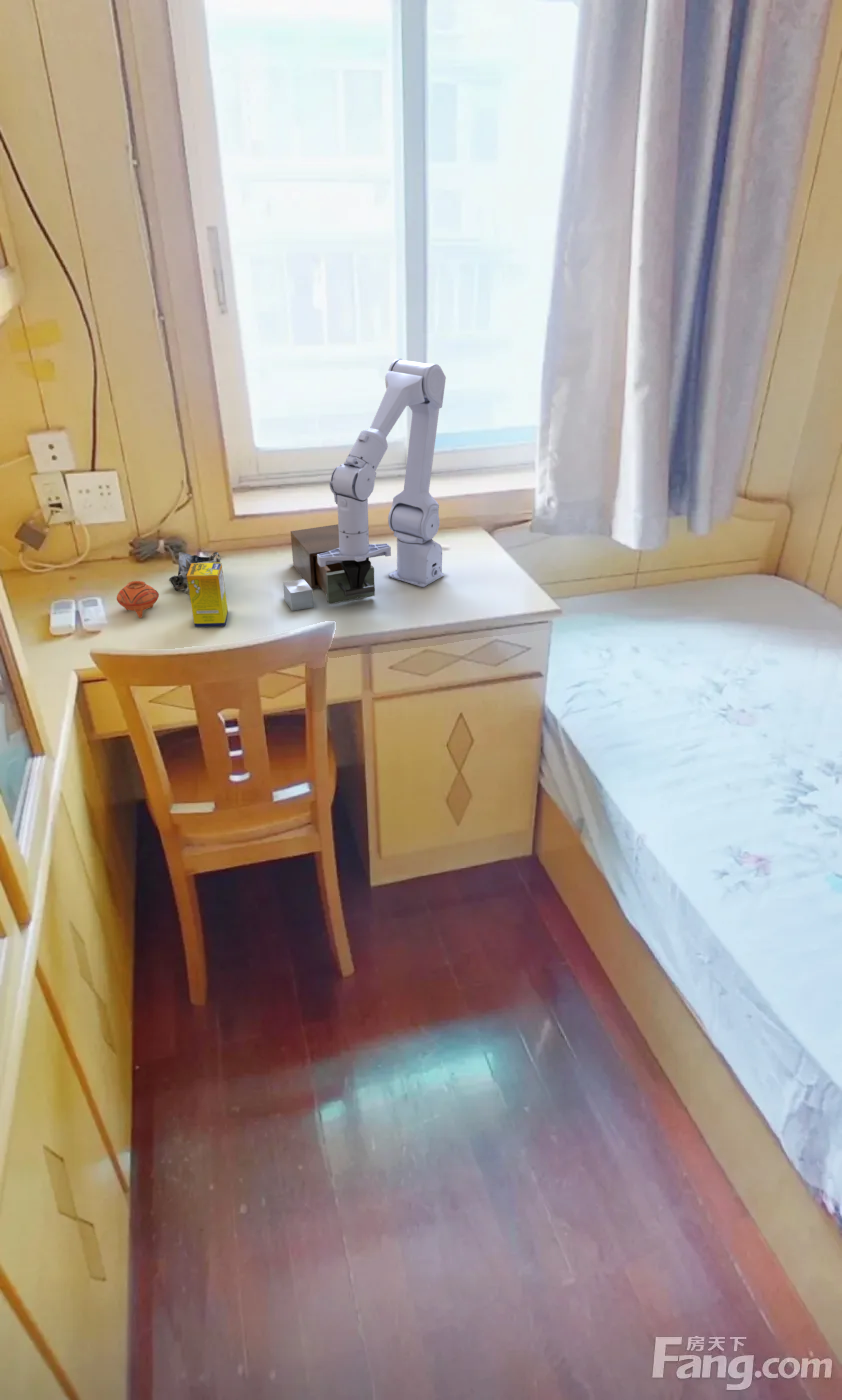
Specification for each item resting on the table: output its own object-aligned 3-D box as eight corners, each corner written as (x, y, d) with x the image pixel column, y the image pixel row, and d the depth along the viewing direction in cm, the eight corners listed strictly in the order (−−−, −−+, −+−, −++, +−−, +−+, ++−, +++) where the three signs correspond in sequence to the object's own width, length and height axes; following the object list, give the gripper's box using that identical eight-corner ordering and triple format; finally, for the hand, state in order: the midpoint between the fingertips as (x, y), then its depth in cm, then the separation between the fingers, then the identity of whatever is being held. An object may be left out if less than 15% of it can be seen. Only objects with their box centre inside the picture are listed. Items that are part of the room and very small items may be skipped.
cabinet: (361, 581, 179) (360, 545, 175) (311, 589, 175) (309, 553, 171) (340, 558, 189) (338, 524, 185) (293, 565, 186) (290, 531, 181)
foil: (236, 556, 181) (219, 543, 166) (232, 606, 181) (215, 597, 166) (182, 553, 181) (161, 539, 166) (179, 602, 181) (157, 593, 166)
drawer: (384, 606, 167) (383, 577, 163) (337, 615, 163) (336, 585, 160) (353, 572, 180) (352, 545, 177) (310, 580, 177) (308, 552, 174)
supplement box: (198, 613, 165) (190, 562, 159) (228, 612, 166) (222, 561, 160) (193, 627, 160) (185, 575, 154) (225, 626, 161) (218, 574, 155)
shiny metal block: (313, 607, 168) (312, 589, 166) (292, 611, 167) (290, 593, 164) (305, 596, 172) (304, 578, 170) (284, 600, 171) (282, 582, 169)
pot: (110, 619, 162) (107, 584, 160) (130, 610, 169) (127, 577, 167) (149, 621, 161) (146, 586, 159) (167, 612, 168) (164, 579, 166)
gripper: (323, 541, 153) (327, 608, 160) (396, 530, 158) (397, 595, 165) (312, 528, 158) (316, 593, 166) (382, 518, 163) (383, 581, 171)
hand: (355, 593), depth 166 cm, fingers closed, pressing on drawer
